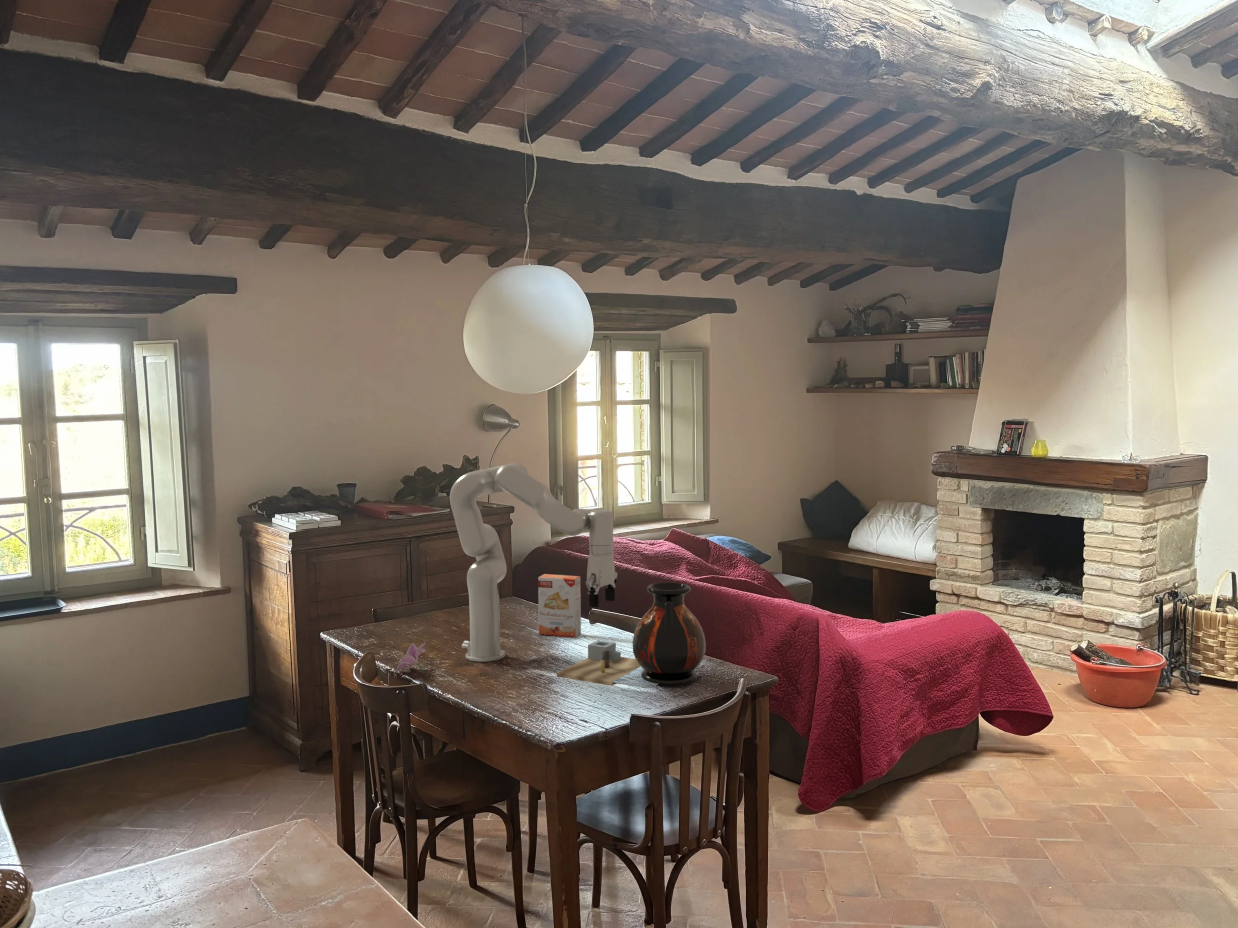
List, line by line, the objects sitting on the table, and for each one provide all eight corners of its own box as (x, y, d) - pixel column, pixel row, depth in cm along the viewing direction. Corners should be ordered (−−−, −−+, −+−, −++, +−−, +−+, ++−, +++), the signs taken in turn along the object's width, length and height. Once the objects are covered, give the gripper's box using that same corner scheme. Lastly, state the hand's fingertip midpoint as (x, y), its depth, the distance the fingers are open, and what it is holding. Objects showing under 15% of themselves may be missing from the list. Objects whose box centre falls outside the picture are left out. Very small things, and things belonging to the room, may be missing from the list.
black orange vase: (634, 668, 286) (633, 578, 284) (704, 669, 284) (704, 579, 282) (630, 690, 264) (630, 593, 262) (706, 691, 263) (706, 594, 261)
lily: (431, 668, 291) (417, 641, 292) (444, 662, 282) (429, 634, 282) (398, 687, 284) (384, 659, 285) (410, 681, 275) (394, 652, 275)
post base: (556, 676, 278) (556, 656, 277) (597, 656, 299) (597, 637, 298) (612, 685, 269) (611, 664, 268) (650, 664, 290) (649, 645, 289)
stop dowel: (600, 672, 278) (600, 660, 278) (602, 671, 279) (602, 659, 279) (603, 672, 277) (603, 661, 277) (605, 671, 278) (605, 660, 278)
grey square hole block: (588, 658, 292) (587, 644, 292) (598, 653, 298) (598, 640, 297) (614, 662, 288) (613, 648, 287) (624, 657, 293) (623, 643, 293)
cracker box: (538, 635, 326) (537, 576, 325) (544, 630, 332) (544, 573, 331) (575, 638, 322) (574, 578, 321) (581, 633, 328) (580, 575, 326)
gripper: (605, 544, 299) (606, 597, 301) (576, 552, 284) (577, 607, 286) (625, 546, 296) (626, 599, 297) (597, 554, 281) (598, 610, 282)
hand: (602, 603), depth 291 cm, fingers open, 9 cm apart
